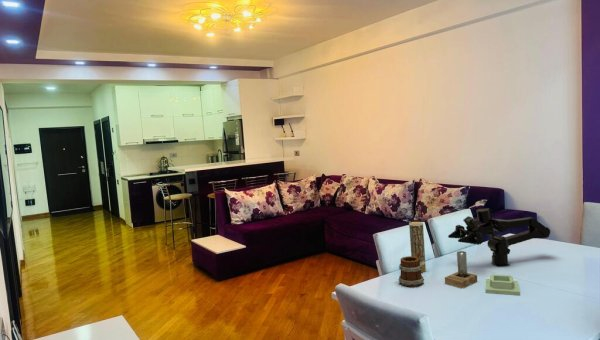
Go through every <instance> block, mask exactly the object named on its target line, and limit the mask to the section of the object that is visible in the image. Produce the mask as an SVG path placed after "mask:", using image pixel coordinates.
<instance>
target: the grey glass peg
mask: <svg viewBox="0 0 600 340" xmlns="http://www.w3.org/2000/svg"><path fill="white" fill-rule="evenodd" d="M456 262H457V272H458V277H462V278H466V277H467V273H468V262H467V252H466V251H464V250H460V251H459V250H458V251H457V252H456Z"/></svg>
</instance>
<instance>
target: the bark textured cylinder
mask: <svg viewBox="0 0 600 340" xmlns="http://www.w3.org/2000/svg"><path fill="white" fill-rule="evenodd" d="M408 224H409V225H408V227H409V242H410V256H412V257H414V256H415V254H416V252H419V258H420V264H421V265H422V269H421V274H422V273H425V272H426V270H427V269H426V253H425V251H426V250H425V234H424V233H425V232H424V223H423V222H421V221H412V222H411V221H410V222H409V223H408Z"/></svg>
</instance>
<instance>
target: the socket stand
mask: <svg viewBox="0 0 600 340" xmlns="http://www.w3.org/2000/svg"><path fill="white" fill-rule="evenodd" d="M485 293H487V294H500V295H511V296H512V295H513V296H521V295H520V293H521V291H520V287H519V280H514V276H512V275H509V274H493V273H492V274H490V275H489V278H485Z"/></svg>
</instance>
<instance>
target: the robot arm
mask: <svg viewBox="0 0 600 340" xmlns="http://www.w3.org/2000/svg"><path fill="white" fill-rule="evenodd" d="M476 214H477V218H474V217H471V216H466V217H465V218H463V220H462V221H463V222H464V224H465V225H466V226H463V225H461V224H457V225H455V229H454V231H452V232H451V233H450V234H448V236H447V237H448V238H449V239H457V242H458V243H465V244H471V245H477V246H479V245H482V243H483V238H484V236H487V235H488V236H489V237H490V238H489V239H488V241H487V243H486V244H487V247H488V248H489V249H490V252H492V255H491V264H492V265H494V266H496V267H504V266H505V267H507V266H510V263H509V261H508V260H509V258H508V255H510V253H511V249H510V248H509V247H510V246H513V245H516V244H519V243H523V242H526V241H528V240H533V239H538V240H539V239H540V240H541V239H547V238H549V237H550V235H551V229H550V228H549V227H548V226H545V225H543V224H542V222H539V221H538V220H537V219H536V218H534V217H531V216H527V217H522V218H514V219H512V218H511V219H501V218H499V219H498V218H493V217H492V209H491V208H489V207H487V208H478V209H476ZM480 223H481V224H480ZM521 227H528V230H524V231H521V232H518V233H514V234H512V235H508V236H504V235H500V234H497V235H495V234H496V232H499V233H504V232H507V231H509V230H510V229H514V228H515V229H516V228H521ZM495 231H496V232H495Z"/></svg>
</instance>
